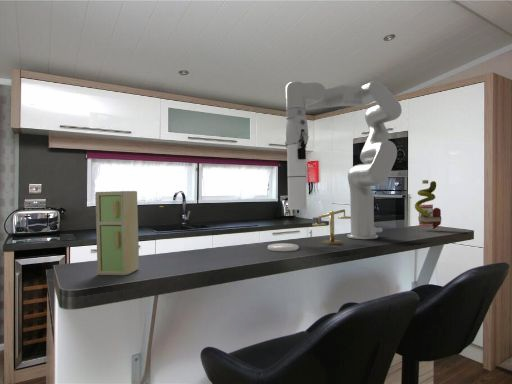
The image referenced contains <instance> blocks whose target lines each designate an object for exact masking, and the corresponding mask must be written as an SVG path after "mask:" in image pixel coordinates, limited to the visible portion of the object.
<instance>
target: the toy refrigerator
mask: <svg viewBox="0 0 512 384" xmlns="http://www.w3.org/2000/svg"><path fill="white" fill-rule="evenodd" d="M94 196H95V225H96V226H95V228H96V231H95V232H96V261H97V262H96V264H97V267H96V268H97V269H96V270H97V275H99V276H127V275H129V274H131V273H134V272H135V271H138V270H139V269H140V254H139V251H140V250H139V249H140V248H139V247H140V246H139V217H138V214H139V213H138V211H139V210H138V191H137V190H119V191H116V190H115V191H112V190H111V191H96V192H95V194H94Z"/></svg>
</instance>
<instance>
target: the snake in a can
mask: <svg viewBox="0 0 512 384" xmlns="http://www.w3.org/2000/svg"><path fill="white" fill-rule="evenodd" d="M421 182H422V184H423V185H424V184H425V185H427V184H429V180H428V179H424V180H423V179H422V181H421ZM436 188H437V182H436V181H434V180H432V181H431V182H430V184H429V187H428V188H424V189H420V190H417V195H418V196H419V197H424V198H422V199H419V200H418V201H416V202H415V204H414V209H415V210H416V211H417V212H418V216H417V217H418V218H417V219H418V224H419V227H432V228H433V230H434V229H437V228H438V227H439V226H441V224H442V212H441V211H442V210H441V208H440V207H434V205H433V204H425V203H427V202H430V201H433V200H435V199H436V195H435V194H434V193H433V192H435V190H436Z"/></svg>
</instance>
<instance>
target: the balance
mask: <svg viewBox="0 0 512 384" xmlns="http://www.w3.org/2000/svg"><path fill="white" fill-rule="evenodd" d="M340 213H343V216H341V215H340V216H337V219H338V220H339V219H341V220H343V219H345V220H349V219H350V220H351V215H350V216H349V215H346V209H340V210H336V211H334V210H331V211H329V212H328V213H326V214H320V215H318V216H316V217H312V223H311V224H312V226H314V227H325V226H326V225H327V223H324V222H322V218H326V217H329V240H327V239H326V240H321V244H322V245H327V246H331V245H343V244H344V240H340V239H335V215H338V214H340Z"/></svg>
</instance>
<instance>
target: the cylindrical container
mask: <svg viewBox="0 0 512 384" xmlns="http://www.w3.org/2000/svg"><path fill="white" fill-rule="evenodd" d="M298 148H299V147H298V144H291V145H287V148H286V151H287V152H286V153H287V154H286V156H287V157H286V158H287V162H286V163H287V164H286V165H287V208H288V210H289V211H290V210H291V211H292V210H293V211H302V210H307V206H308V205H307V163H306V162H307V159H298Z"/></svg>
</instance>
